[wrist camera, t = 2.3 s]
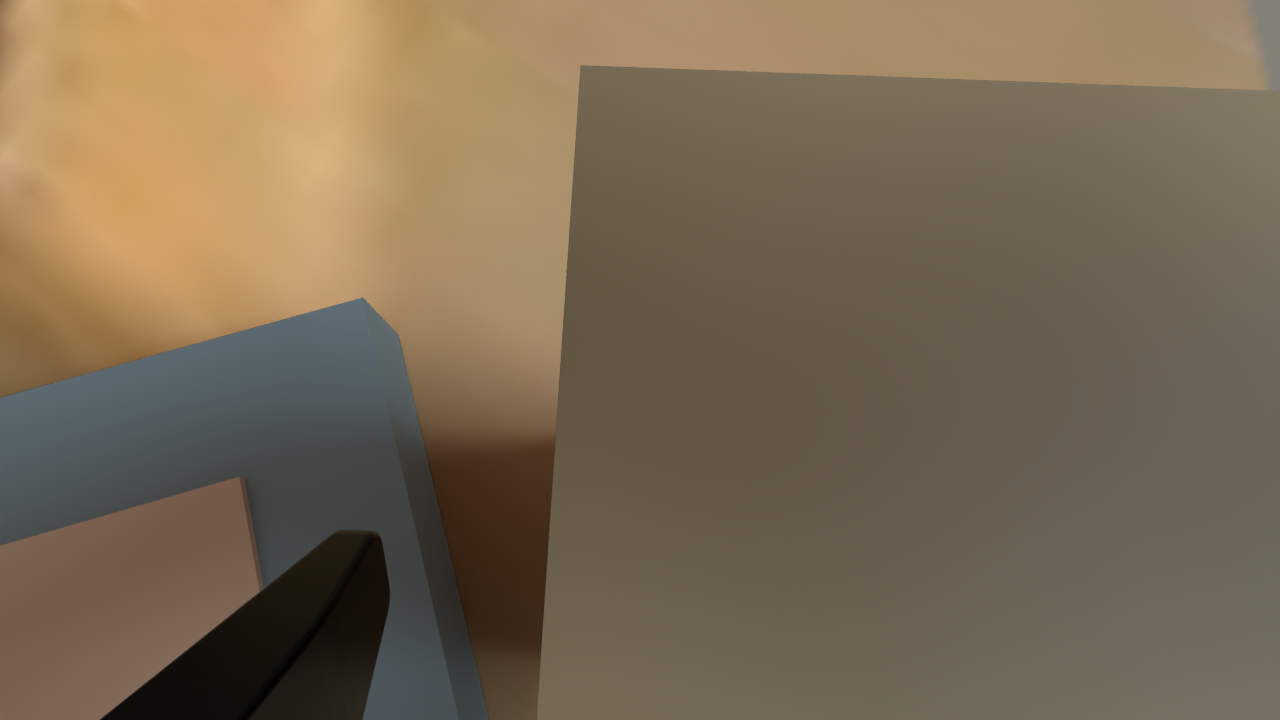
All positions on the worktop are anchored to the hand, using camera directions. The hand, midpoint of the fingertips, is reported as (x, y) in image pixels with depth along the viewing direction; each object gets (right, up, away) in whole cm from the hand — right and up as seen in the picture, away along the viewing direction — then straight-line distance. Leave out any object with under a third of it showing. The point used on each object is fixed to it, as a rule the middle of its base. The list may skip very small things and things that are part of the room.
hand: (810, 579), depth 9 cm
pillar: (0, -2, +8) cm, 8 cm away
